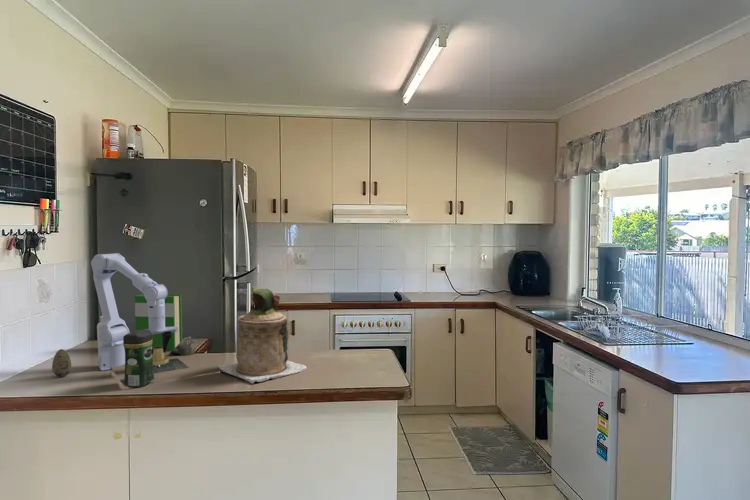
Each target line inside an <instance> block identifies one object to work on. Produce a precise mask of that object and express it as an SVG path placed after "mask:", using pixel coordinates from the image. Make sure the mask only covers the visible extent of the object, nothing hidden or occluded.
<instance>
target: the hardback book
mask: <svg viewBox="0 0 750 500" xmlns="http://www.w3.org/2000/svg"><path fill="white" fill-rule="evenodd" d="M182 310H183V309H182V293H181V294H180V293H177V294H176V293H175V294H174V293H168V295H167V297H166V298H165V327H174V326H177V327H178V332H171V334H172V336H171V338H170V340H169V342H168V345H167V349H166V352H171V351H172V350H173V349H175V347H176V346H177V345H178V344H179V343H180V342H181V341H182V340H183V312H182ZM134 313H135V315H134V316H135V318H134V321H135V322H134V324H135V331H138V330H144V329H149V317H148V304H147V300H146V299H145V297H144V293H142V294H137V295H134ZM152 338H153V342H152V347H156V346H163V339H162V333H161V334H153V335H152Z"/></svg>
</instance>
